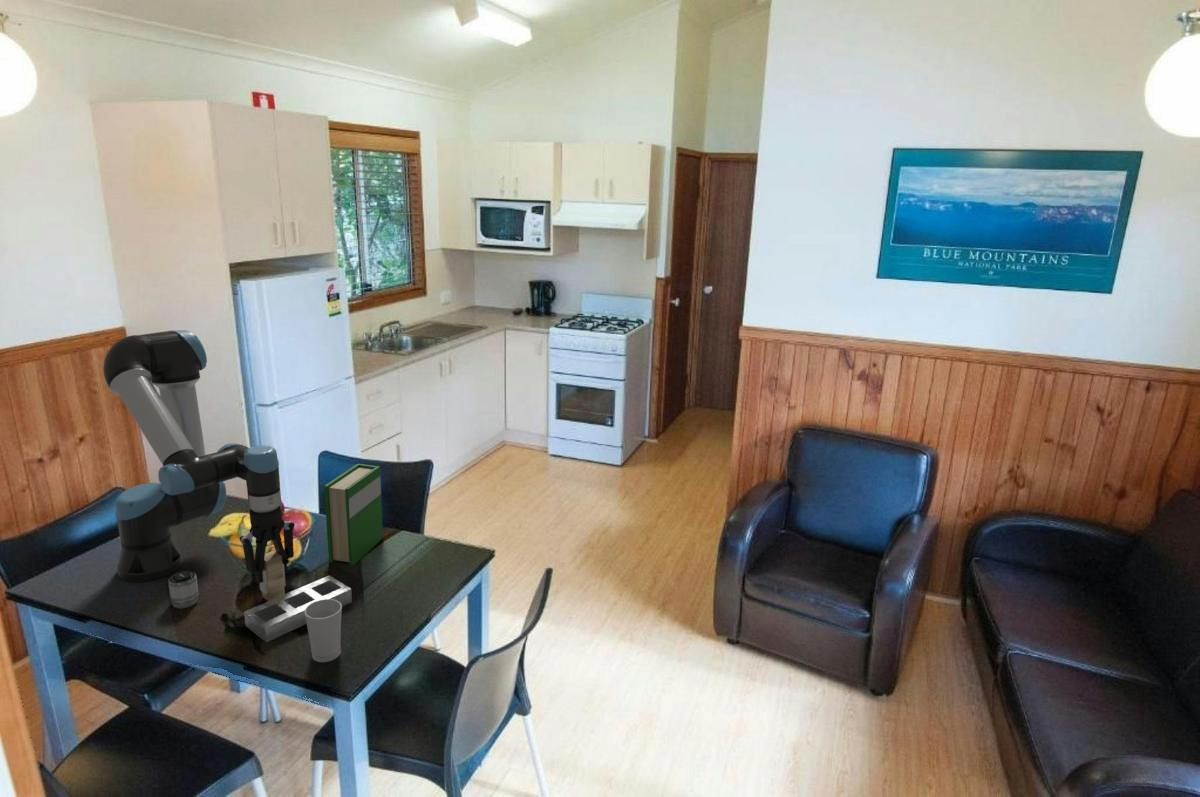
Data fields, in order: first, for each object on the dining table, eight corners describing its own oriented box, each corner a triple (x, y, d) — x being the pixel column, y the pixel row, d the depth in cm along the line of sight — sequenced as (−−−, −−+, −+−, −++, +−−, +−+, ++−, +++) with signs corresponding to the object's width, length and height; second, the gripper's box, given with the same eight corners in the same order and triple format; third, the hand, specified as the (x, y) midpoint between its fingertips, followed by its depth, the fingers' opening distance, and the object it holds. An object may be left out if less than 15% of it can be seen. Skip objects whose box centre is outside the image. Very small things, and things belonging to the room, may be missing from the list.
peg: (262, 597, 184) (258, 556, 181) (277, 590, 187) (273, 550, 184) (270, 602, 182) (266, 561, 179) (285, 596, 185) (281, 555, 182)
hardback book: (352, 566, 202) (348, 489, 195) (329, 562, 203) (324, 485, 196) (382, 538, 218) (379, 466, 211) (361, 534, 219) (357, 463, 213)
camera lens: (180, 612, 176) (176, 584, 174) (166, 603, 180) (162, 576, 177) (204, 600, 182) (201, 573, 179) (190, 592, 185) (187, 566, 182)
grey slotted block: (245, 625, 172) (243, 611, 171) (330, 588, 190) (329, 575, 189) (266, 642, 167) (264, 628, 165) (351, 602, 184) (351, 588, 183)
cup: (332, 638, 169) (330, 595, 166) (351, 653, 164) (348, 608, 161) (301, 653, 163) (297, 608, 160) (319, 669, 158) (316, 623, 155)
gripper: (238, 522, 169) (247, 607, 175) (305, 500, 182) (311, 580, 188) (223, 512, 173) (233, 595, 180) (289, 492, 186) (296, 570, 193)
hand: (273, 587), depth 184 cm, fingers closed on peg, 4 cm apart
